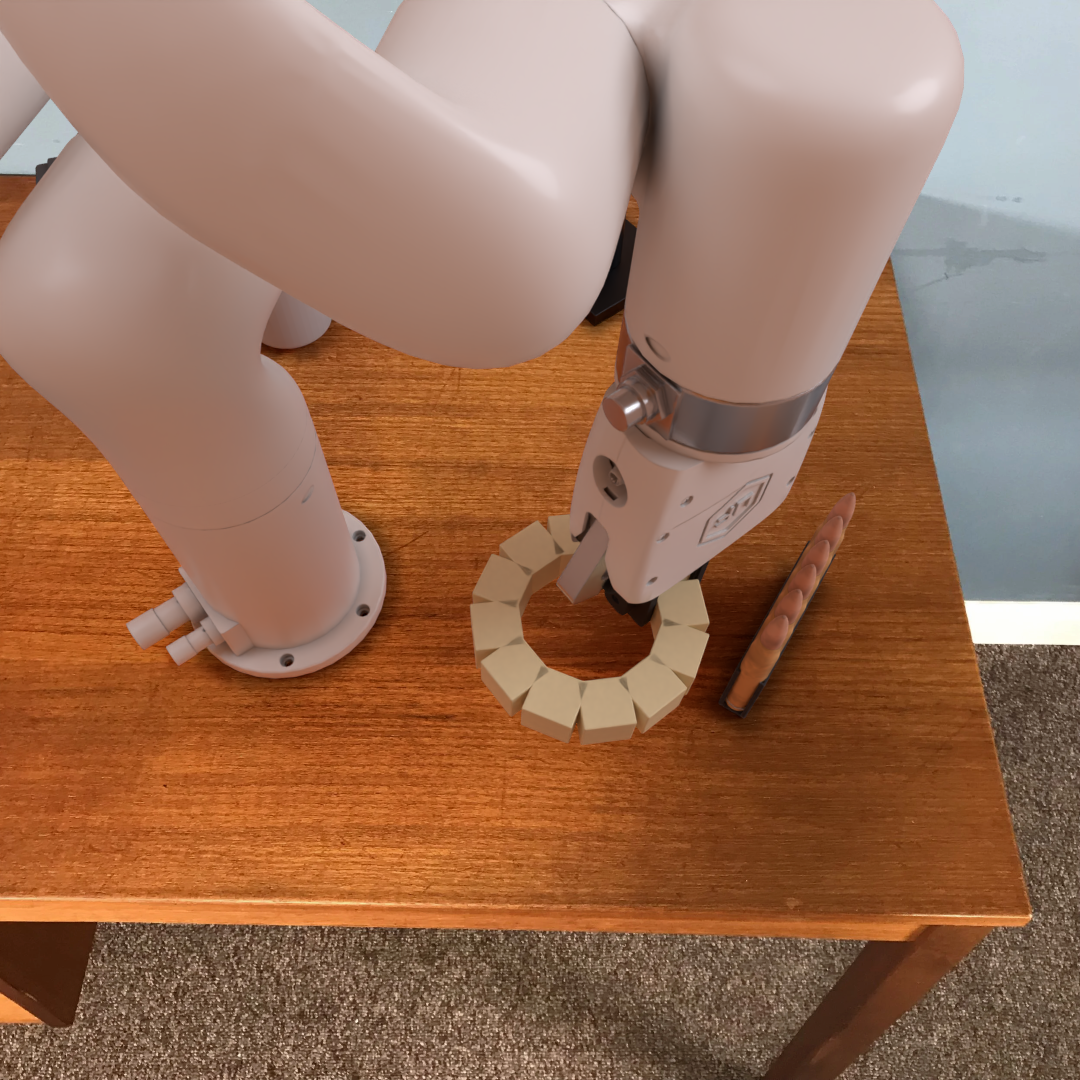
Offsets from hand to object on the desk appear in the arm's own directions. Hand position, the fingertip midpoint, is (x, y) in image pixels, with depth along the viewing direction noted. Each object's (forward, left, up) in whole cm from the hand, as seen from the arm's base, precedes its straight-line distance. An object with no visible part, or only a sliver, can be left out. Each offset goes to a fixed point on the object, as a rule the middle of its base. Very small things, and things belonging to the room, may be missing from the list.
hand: (650, 584), depth 48 cm
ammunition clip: (+8, -4, -11) cm, 14 cm away
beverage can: (-2, +38, -11) cm, 39 cm away
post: (+21, +28, -11) cm, 36 cm away
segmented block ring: (-4, 0, 0) cm, 4 cm away
